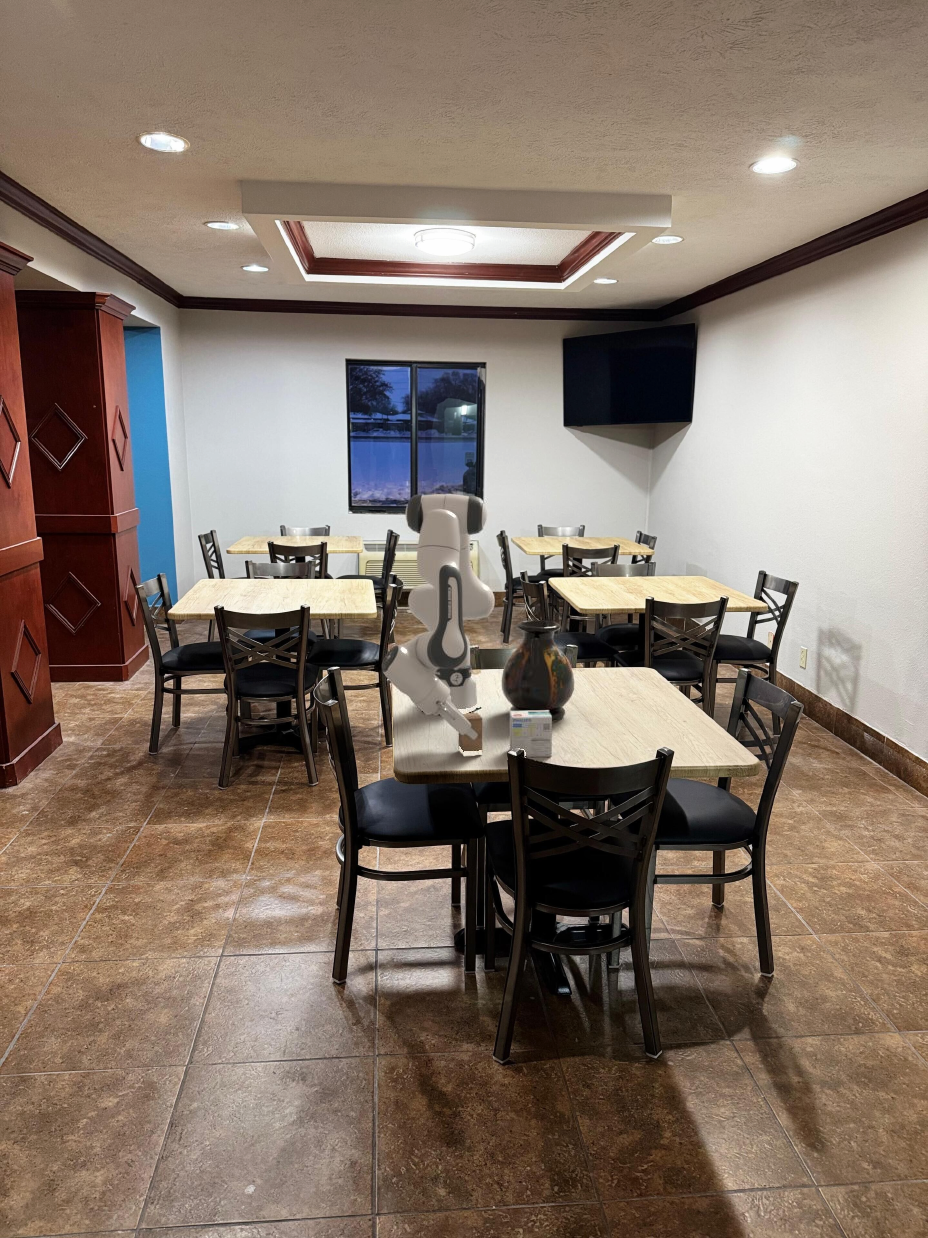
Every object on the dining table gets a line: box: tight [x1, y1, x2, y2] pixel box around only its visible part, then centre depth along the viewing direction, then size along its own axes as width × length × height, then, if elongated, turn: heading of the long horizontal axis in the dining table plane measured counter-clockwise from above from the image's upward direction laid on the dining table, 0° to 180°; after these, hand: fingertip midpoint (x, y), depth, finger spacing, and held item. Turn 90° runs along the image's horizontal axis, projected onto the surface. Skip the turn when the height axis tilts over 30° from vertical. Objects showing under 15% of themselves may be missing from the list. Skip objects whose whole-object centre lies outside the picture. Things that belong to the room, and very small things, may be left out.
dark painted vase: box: [501, 619, 575, 722], centre depth 249 cm, size 22×22×28 cm
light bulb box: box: [509, 710, 553, 758], centre depth 218 cm, size 11×7×11 cm, turn 92°
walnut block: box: [458, 712, 483, 752], centre depth 218 cm, size 5×5×10 cm
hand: (470, 731), depth 218 cm, fingers open, 8 cm apart
